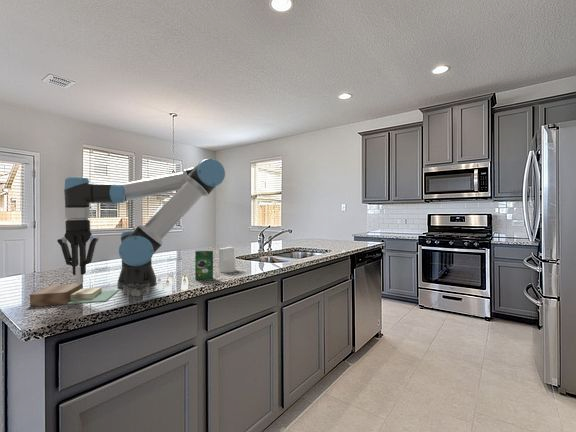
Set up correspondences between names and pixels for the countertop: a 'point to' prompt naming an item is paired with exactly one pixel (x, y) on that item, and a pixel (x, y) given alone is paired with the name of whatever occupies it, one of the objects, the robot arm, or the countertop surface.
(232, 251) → the white upright block
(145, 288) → the egg carton
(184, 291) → the countertop surface
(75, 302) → the mat
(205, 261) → the coffee box
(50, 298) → the tan wooden block
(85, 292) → the tile
